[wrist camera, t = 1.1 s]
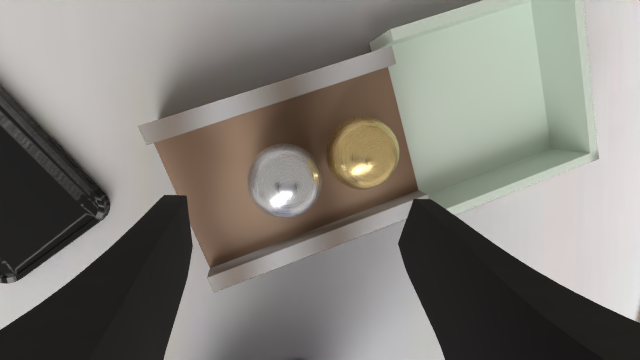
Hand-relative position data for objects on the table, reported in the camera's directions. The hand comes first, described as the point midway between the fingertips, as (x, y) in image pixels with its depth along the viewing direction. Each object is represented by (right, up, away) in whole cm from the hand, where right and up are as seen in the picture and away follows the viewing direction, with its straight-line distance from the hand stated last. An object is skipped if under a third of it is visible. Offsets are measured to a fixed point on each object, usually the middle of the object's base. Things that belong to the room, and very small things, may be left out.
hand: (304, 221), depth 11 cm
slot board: (-1, +2, +11) cm, 11 cm away
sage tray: (+11, +7, +12) cm, 18 cm away
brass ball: (+3, +3, +7) cm, 8 cm away
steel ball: (-1, +1, +7) cm, 7 cm away
